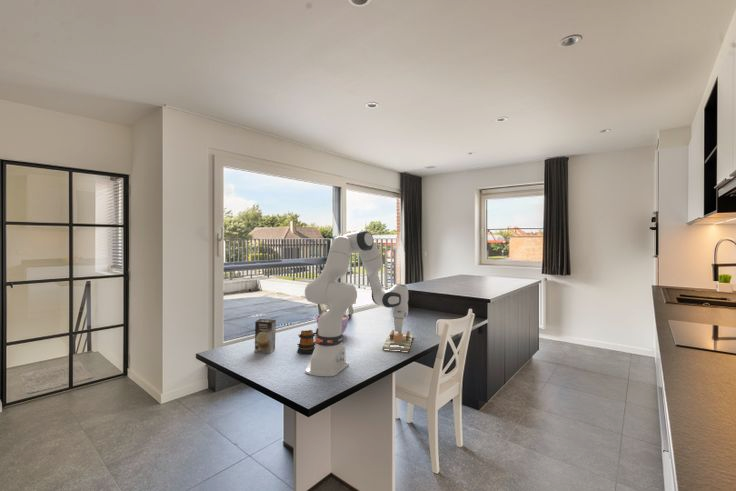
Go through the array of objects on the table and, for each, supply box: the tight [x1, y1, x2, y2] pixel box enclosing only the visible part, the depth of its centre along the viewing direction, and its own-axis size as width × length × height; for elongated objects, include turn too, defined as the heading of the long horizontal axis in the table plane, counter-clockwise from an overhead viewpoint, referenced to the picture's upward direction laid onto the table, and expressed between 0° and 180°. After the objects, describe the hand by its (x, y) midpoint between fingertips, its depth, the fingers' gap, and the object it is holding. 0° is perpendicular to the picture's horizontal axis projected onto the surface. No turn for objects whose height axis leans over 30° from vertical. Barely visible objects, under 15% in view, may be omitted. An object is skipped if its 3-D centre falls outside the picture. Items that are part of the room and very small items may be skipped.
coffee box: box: [254, 318, 277, 354], centre depth 177 cm, size 9×6×16 cm
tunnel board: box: [382, 329, 414, 352], centre depth 193 cm, size 28×14×5 cm, turn 168°
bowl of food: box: [315, 313, 350, 335], centre depth 207 cm, size 20×20×12 cm
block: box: [394, 332, 404, 343], centre depth 190 cm, size 4×4×4 cm
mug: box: [296, 327, 318, 356], centre depth 178 cm, size 13×10×12 cm
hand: (399, 335), depth 198 cm, fingers closed
